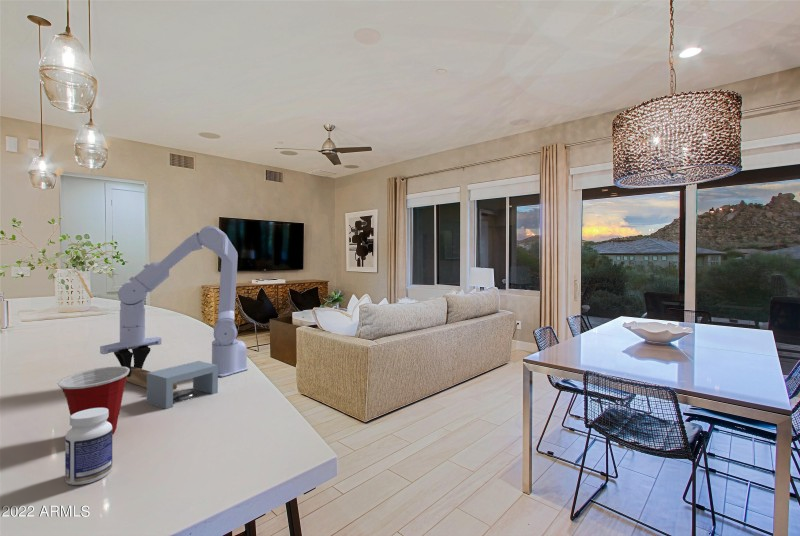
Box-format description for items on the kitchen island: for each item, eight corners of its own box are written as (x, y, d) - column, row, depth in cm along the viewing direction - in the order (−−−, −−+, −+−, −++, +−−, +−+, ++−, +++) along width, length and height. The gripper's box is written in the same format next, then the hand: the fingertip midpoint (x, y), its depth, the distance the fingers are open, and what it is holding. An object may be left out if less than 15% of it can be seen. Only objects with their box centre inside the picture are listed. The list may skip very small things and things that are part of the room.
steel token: (187, 393, 98) (187, 389, 98) (199, 397, 95) (199, 392, 95) (167, 399, 93) (167, 394, 93) (179, 403, 91) (179, 398, 91)
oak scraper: (139, 377, 109) (139, 364, 109) (176, 388, 100) (176, 375, 100) (117, 382, 104) (117, 369, 104) (154, 395, 95) (154, 381, 95)
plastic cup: (45, 441, 71) (45, 376, 70) (112, 420, 80) (112, 363, 80) (74, 455, 66) (74, 386, 65) (141, 431, 75) (141, 370, 75)
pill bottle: (121, 466, 62) (121, 406, 62) (91, 487, 57) (92, 420, 56) (87, 465, 62) (87, 405, 62) (54, 486, 57) (54, 419, 57)
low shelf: (198, 387, 102) (198, 360, 102) (217, 392, 98) (217, 365, 98) (146, 402, 90) (146, 372, 90) (166, 408, 87) (166, 378, 86)
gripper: (152, 321, 114) (151, 366, 114) (94, 328, 101) (94, 379, 101) (165, 323, 110) (165, 370, 110) (107, 330, 97) (107, 383, 98)
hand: (132, 374), depth 105 cm, fingers closed on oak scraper, 2 cm apart
